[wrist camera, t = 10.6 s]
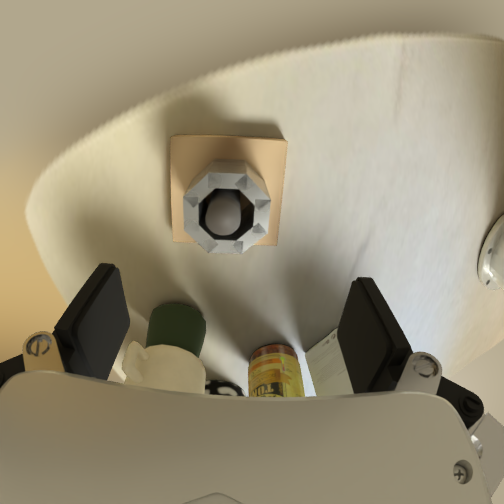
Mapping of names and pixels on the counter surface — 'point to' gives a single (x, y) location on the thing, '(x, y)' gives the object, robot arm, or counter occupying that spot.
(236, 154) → the shaft stand
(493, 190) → the counter surface
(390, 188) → the counter surface
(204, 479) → the robot arm
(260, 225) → the tube
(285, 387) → the sauce bottle
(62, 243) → the counter surface
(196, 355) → the character mug
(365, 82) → the counter surface
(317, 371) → the skincare box
